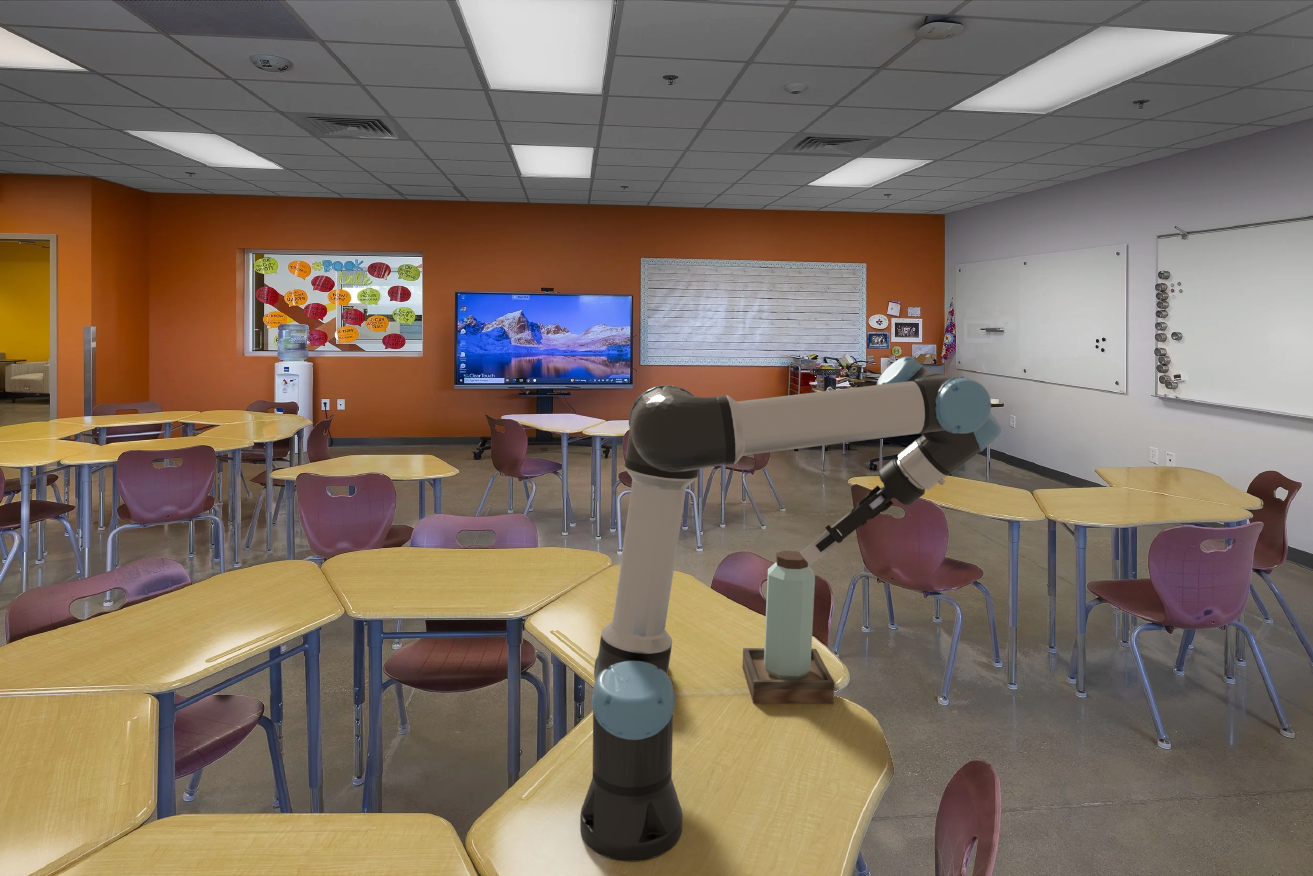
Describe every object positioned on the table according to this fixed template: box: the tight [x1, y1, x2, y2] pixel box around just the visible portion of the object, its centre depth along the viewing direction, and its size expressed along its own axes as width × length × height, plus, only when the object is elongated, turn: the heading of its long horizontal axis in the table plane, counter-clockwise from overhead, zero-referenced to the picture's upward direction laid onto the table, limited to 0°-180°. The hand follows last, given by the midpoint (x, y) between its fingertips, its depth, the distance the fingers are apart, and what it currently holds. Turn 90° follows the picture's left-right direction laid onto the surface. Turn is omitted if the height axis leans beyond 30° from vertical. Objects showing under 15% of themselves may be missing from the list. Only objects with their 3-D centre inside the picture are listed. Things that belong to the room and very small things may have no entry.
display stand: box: [741, 647, 835, 705], centre depth 161 cm, size 16×16×4 cm
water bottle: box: [764, 550, 816, 680], centre depth 159 cm, size 10×10×25 cm
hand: (816, 548), depth 135 cm, fingers open, 13 cm apart
